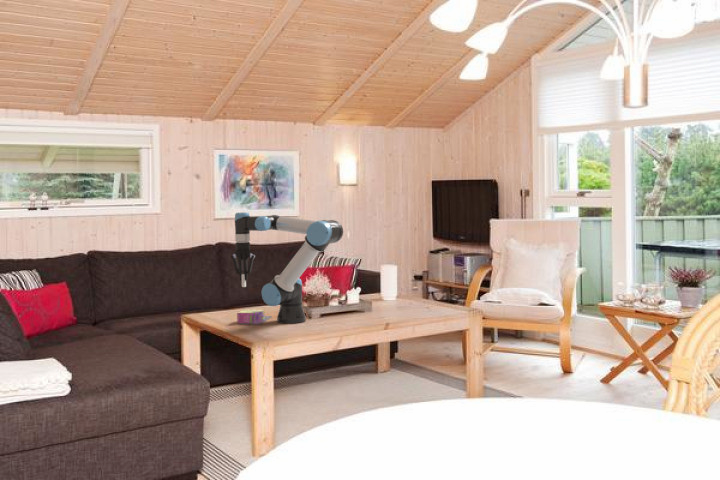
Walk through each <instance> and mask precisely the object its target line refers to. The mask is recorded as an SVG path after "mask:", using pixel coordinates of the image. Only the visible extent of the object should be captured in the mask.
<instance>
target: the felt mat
mask: <svg viewBox="0 0 720 480" xmlns="http://www.w3.org/2000/svg"><path fill="white" fill-rule="evenodd" d="M271 318H273V316H272V315H265V320H264V321H262V322H261V323H259V324H254V323H238V324H239V325H262V324H263V323H265V322H266V321H267V320H270V319H271Z"/></svg>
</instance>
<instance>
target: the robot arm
mask: <svg viewBox="0 0 720 480" xmlns="http://www.w3.org/2000/svg"><path fill="white" fill-rule="evenodd" d="M234 229H235V230H234V231H235V233H234V234H235V235H234V239H235V241H234V242H235V251H234V253H233V254H232V255H231V256H230V258H231V259H232V262H233V266H234V269H235V273H236V274H237V275H238V274H239V281H241V287H242V288H246V287H247V281H248V279H249V277H248V276H249V275H248V274H251V273H252V269H253V265H254V260H255V258H256V254H253V253H252V251H251V243H250V241H251V235H250V234H251V231H253V232H255V231H256V232H257V231H258V232H259V231H260V232H266V231H269V230H272V231H273V230H274V231H281V232H287V233H294V234H302V235H305V236H304V241H305V242H303V244H302V245H301V247H300V248H299V250H297V252H296V253H295V255H294V256H293V257H292V259H291V260H290V261H289V262H288V264H287V265H286V267H285V268H284V269H283V271H282V272H281V273H280V274H276V275H275V276H274V277H273V279H272V280H271V281H270V282H269V283H266V284H265V285H263V287H262V289H261V297H262V301H263V302H264V303H265V305H267V306H269V307H277V306H279V310H278V314H277V317H276V321H277V323H280V324H298V323H299V324H300V323H304V322H306V320H307V319H306V318H307V317H306V313H305V311H304V307H303V281H302V279H301V278H300V277H301V276H302V275H303V274H304V272H305V271H306V270H307V269H308V267H309V266H310V264H311V263H312V262H313V260H315V258H316V257H317V255H318V254H319V253H323V252H324V251H325V250H326V249H327V247H328V246H330V244H334V243H337V242H339V241H340V240H341V239H342V238H343V236H344V228H343V226H342V224H341V223H340V222H339V221H337V220H334V219H329V220H327V219H326V220H325V219H322V220H311V219H303V218H296V217H288V216H287V217H286V216H280V215H278V214H272V215H251V216H250V212H246V211H245V212H244V211H243V212H236V213H235V214H234ZM249 258H250V259H249ZM248 261H249V264H248Z"/></svg>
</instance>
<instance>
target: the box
mask: <svg viewBox="0 0 720 480" xmlns="http://www.w3.org/2000/svg"><path fill="white" fill-rule="evenodd" d="M265 312H266V311H265V309H242V310H241V311H238V312H237V313H236V321H237V324H239V323H254V324H259V323H261V322H262V321H264V320H265V316H266V314H265Z"/></svg>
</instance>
